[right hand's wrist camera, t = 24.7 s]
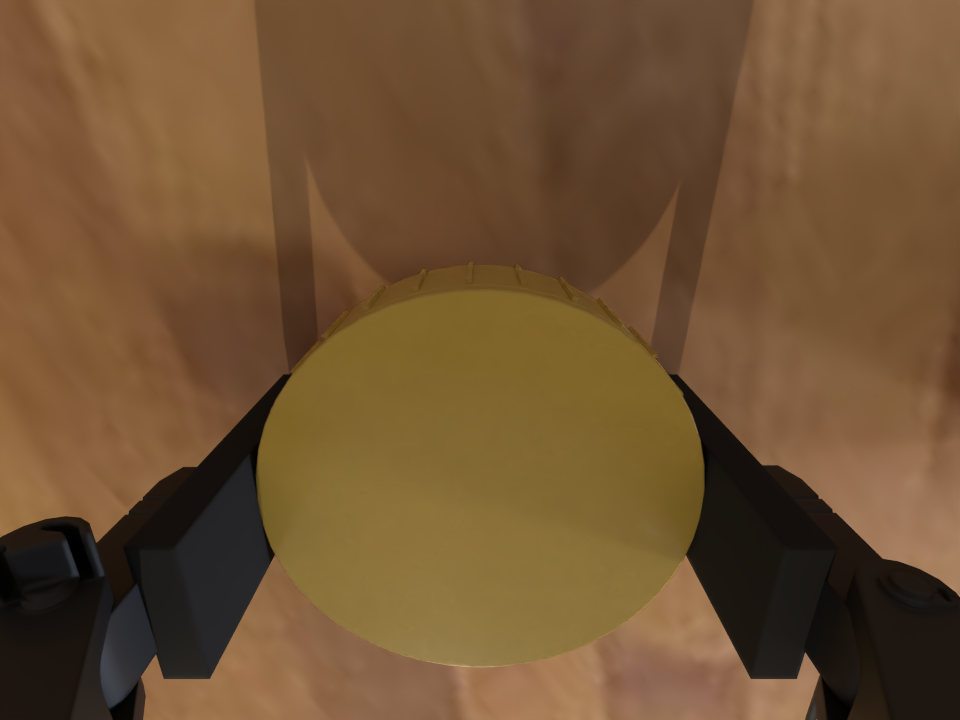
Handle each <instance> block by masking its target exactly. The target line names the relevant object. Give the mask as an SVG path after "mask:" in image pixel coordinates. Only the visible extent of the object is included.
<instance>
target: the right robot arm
mask: <svg viewBox="0 0 960 720" xmlns="http://www.w3.org/2000/svg"><path fill="white" fill-rule="evenodd" d="M291 375H292V374H284V375H283V376H282V377H281V378H280V379H279V380H278V381H277V382H276V383H275V384H274V385H273V386H272V387H271V389H270V390H269V391H268V392H267V393H266V394H265V395H264V396H263V397H262V398H261V399H260V400H259V401H258V402H257V404H256V405H255V406H254V407H253V408H252V409H251V410H250V411H249V412H248V413H247V414H246V415H245V416H244V417H243V419H242V420H241V421H240V422H239V423H238V424H237V425H236V426H235V427H234V428H233V429H232V430H231V431H230V432H229V434H228V435H227V436H226V437H225V438H224V439H223V440H222V441H221V442H220V443H219V444H218V445H217V446H216V447H215V449H214V450H213V451H212V452H211V453H210V454H209V455H208V456H207V457H206V458H205V459H204V460H203V461H202V462H201V464H200V465H199V466H198V467H183V468H181V469H179V470H178V471H176V472H174V473H172V474H171V475H169V476H167V477H166V478H164V479H162V480H161V481H159V482H158V483H157V484H156V485H155V486H154V487H153V488H152V489H151V490H150V491H149V492H148V493H147V494H146V495H145V496H144V497H143V500H142V501H139V502H138V503H137V504H136V505H135V506H134V507H133V508H132V509H131V510H130V511H129V514H128V515H125V516H124V517H123V518H122V519H121V520H120V521H119V522H118V523H117V524H116V525H115V526H114V527H113V528H112V529H111V530H110V531H109V532H108V533H106V534H105V535H104V536H103V537H102V538H101V539H100V540H99V541H98V542H97V543H96V542H95V539H94V536H93V533H92V530H91V527H90V524H89V523H88V522H87V521H85V520H83V519H82V518H78V517H67V516H65V517H58V518H51V519H45V520H42V521H39V522H36V523H32V524H29V525H26V526H23V527H21V528H19V529H17V530H15V531H13V532H10V533H8V534H6V535H4V536H2V537H1V538H0V720H143V715H144V706H145V697H146V696H145V691H144V685H143V682H142V679H141V676H142V674H143V673H144V671H145V670H146V668H147V667H148V665H149V664H150V662H151V661H152V659H153V657H154V656H155V654H156V655H157V658H158V661H159V665H160V668H161V671H162V674H163V677H164V679H210V677H211V675H212V673H213V672H214V670H215V668H216V666H217V664H218V662H219V660H220V658H221V656H222V654H223V652H224V651H225V649H226V647H227V645H228V643H229V641H230V639H231V637H232V635H233V633H234V632H235V630H236V628H237V626H238V624H239V622H240V620H241V618H242V616H243V614H244V613H245V611H246V609H247V607H248V605H249V603H250V601H251V599H252V597H253V595H254V593H255V592H256V590H257V588H258V586H259V584H260V582H261V580H262V578H263V576H264V574H265V573H266V571H267V569H268V567H269V565H270V563H271V561H272V559H273V557H274V555H275V553H274V552H273V550H272V548H271V546H270V543H269V540H268V538H267V535H266V533H265V530H264V527H263V525H262V520H261V515H260V510H259V505H258V499H257V489H256V466H257V456H258V448H259V444H260V440H261V437H262V433H263V429H264V425H265V423H266V420H267V418H268V416H269V413H270V410H271V408H272V407H273V404H274V402H275V400H276V398H277V397H278V395H279V394H280V392H281V390H282V389H283V387H284V386H285V384H286V383H287V381H288V380H289V378H290V377H291ZM668 375H669V376H670V378H671V379H672V380H673V382H674V383H675V384H676V385H677V386H678V387H679V388H680V389H681V391H682V392H683V394H684V395H683V398H684V399H685V401H686V403H687V405H688V407H689V409H690V411H691V413H692V415H693V418H694V421H695V424H696V427H697V430H698V433H699V436H700V440H701V445H702V452H703V458H704V464H705V492H704V498H703V503H702V509H701V514H700V519H699V522H698V526H697V529H696V532H695V535H694V538H693V540H692V542H691V544H690V547H689V549H688V551H687V553H686V556H687V558H688V560H689V562H690V564H691V566H692V567H693V569H694V571H695V573H696V575H697V577H698V579H699V581H700V583H701V585H702V586H703V588H704V590H705V592H706V594H707V596H708V598H709V600H710V602H711V604H712V606H713V607H714V609H715V611H716V613H717V615H718V617H719V619H720V621H721V623H722V625H723V626H724V628H725V630H726V632H727V634H728V636H729V638H730V640H731V642H732V644H733V646H734V647H735V649H736V651H737V653H738V655H739V657H740V659H741V661H742V663H743V665H744V666H745V668H746V670H747V672H748V674H749V676H750V678H751V679H797V676H798V673H799V670H800V667H801V664H802V660H803V657H804V654H805V652H806V654H807V655H808V657H809V658H810V660H811V661H812V663H813V664H814V666H815V667H816V669H817V670H818V672H819V673H820V676H819V679H818V682H817V685H816V688H815V691H814V694H813V697H812V700H811V703H810V706H809V709H808V712H807V715H806V718H805V720H816V719H817V720H960V597H959V596H958V594H957V593H956V592H954V591H953V590H952V589H951V588H949V587H948V586H947V585H945V584H944V583H943V582H942V581H940V580H939V579H937V578H935V577H933V576H931V575H930V574H928V573H926V572H924V571H922V570H920V569H918V568H915V567H912V566H909V565H907V564H904V563H901V562H898V561H892V560H886V559H882V558H881V557H880V556H879V555H878V554H877V553H876V552H875V551H874V550H873V549H872V548H871V547H870V546H869V545H868V544H867V543H866V542H865V541H864V540H863V539H862V538H861V537H860V536H859V535H858V534H857V533H856V532H855V531H854V530H853V529H852V528H851V527H850V526H849V525H848V524H847V523H846V522H845V521H844V520H843V519H842V518H841V517H840V516H838V515H837V514H836V513H833V512H832V509H831V508H830V507H829V506H828V505H827V504H826V503H825V502H824V501H823V500H822V499H819V498H818V495H817V494H816V493H815V492H814V491H813V490H812V489H811V488H810V487H809V486H808V485H807V484H806V483H805V482H804V481H803V480H802V479H800V478H798V477H797V476H795V475H793V474H792V473H790V472H788V471H786V470H785V469H783V468H781V467H780V466H778V465H761V464H760V463H759V462H758V461H757V459H756V458H755V457H754V456H753V455H752V454H751V453H750V452H749V451H748V450H747V449H746V448H745V447H744V446H743V444H742V443H741V442H740V441H739V440H738V439H737V438H736V437H735V436H734V435H733V434H732V433H731V432H730V431H729V429H728V428H727V427H726V426H725V425H724V424H723V423H722V422H721V421H720V420H719V419H718V418H717V417H716V416H715V414H714V413H713V412H712V411H711V410H710V409H709V408H708V407H707V406H706V405H705V404H704V403H703V402H702V401H701V399H700V398H699V397H698V396H697V395H696V394H695V393H694V392H693V391H692V390H691V389H690V388H689V387H688V386H687V384H686V383H685V382H684V381H683V380H682V379H681V378H680V377H679V376H678V375H677V374H668Z"/></svg>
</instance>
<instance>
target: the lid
mask: <svg viewBox="0 0 960 720" xmlns="http://www.w3.org/2000/svg"><path fill="white" fill-rule="evenodd" d="M321 337H322V338H323V340H322V341H320V340H318V341H317V342H316V343H315V344H314V345H313V347H312V348H311V349H310V350H309V351H308V352H307V353H306V354H305V355H304V356H303V357H302V359H301V360H300V361H299V362H298V363H297V364H296V365H295V366H294V367H293V368H292V370H291V371H290V372H291V373H292V375H291V377H290V378H289V380H288V381H287V383H286V384H285V386H284V387H283V389H282V390H281V392H280V394H279V395H278V397H277V398H276V400H275V402H274V404H273V407H272V408H271V410H270V413H269V416H268V418H267V420H266V423H265V425H264V429H263V433H262V437H261V440H260V444H259V448H258V456H257V466H256V489H257V499H258V505H259V510H260V515H261V520H262V525H263V527H264V530H265V533H266V535H267V538H268V540H269V543H270V546H271V548H272V550H273V552H274V553H275V555H276V557H277V559H278V561H279V562H280V564H281V566H282V568H283V569H284V571H285V572H286V573H287V575H288V576H289V577H290V579H291V580H292V582H293V583H294V584H295V586H296V587H297V588H298V589H299V590H300V591H301V592H302V593H303V594H304V595H305V596H306V598H307V599H308V600H309V601H310V602H311V603H312V604H313V605H314V606H315V607H317V608H318V609H319V610H320V611H321V612H323V613H324V614H325V615H326V616H328V617H329V618H330V619H331V620H332V621H334V622H335V623H337V624H338V625H340V626H342V627H343V628H345V629H346V630H348V631H349V632H351V633H352V634H354V635H356V636H358V637H360V638H362V639H364V640H366V641H368V642H370V643H372V644H374V645H376V646H378V647H381V648H384V649H386V650H389V651H391V652H394V653H397V654H399V655H403V656H407V657H410V658H414V659H418V660H421V661H426V662H432V663H438V664H444V665H452V666H465V667H499V666H508V665H517V664H524V663H529V662H534V661H538V660H543V659H548V658H551V657H554V656H557V655H560V654H564V653H567V652H570V651H573V650H575V649H577V648H580V647H582V646H584V645H587V644H589V643H591V642H594V641H595V640H597V639H599V638H601V637H603V636H604V635H606V634H608V633H610V632H611V631H613V630H615V629H617V628H618V627H619V626H621V625H622V624H624V623H625V622H626V621H628V620H629V619H631V618H632V617H633V616H635V615H636V614H637V613H638V612H639V611H640V610H642V609H643V608H644V607H645V606H646V605H647V604H648V603H649V602H650V601H652V600H653V599H654V598H655V596H656V595H657V594H658V593H659V592H660V591H661V590H662V588H663V587H664V586H665V585H666V584H667V583H668V582H669V580H670V579H671V577H672V576H673V574H674V573H675V571H676V570H677V568H678V567H679V565H680V564H681V562H682V561H683V559H684V557H685V555H686V553H687V551H688V549H689V547H690V544H691V542H692V540H693V538H694V535H695V532H696V529H697V526H698V522H699V519H700V514H701V509H702V503H703V498H704V492H705V464H704V458H703V452H702V445H701V440H700V436H699V433H698V430H697V427H696V424H695V421H694V418H693V415H692V413H691V411H690V409H689V407H688V405H687V403H686V401H685V399H684V398H683V395H684V394H683V392H682V391H681V389H680V388H679V387H678V386H677V385H676V384H675V383H674V382H673V380H672V379H671V378H670V376H669V375H668V374H667V372H666V371H665V369H664V368H663V367H662V366H661V365H660V363H659V362H658V361H657V360H656V359H657V358H658V357H659V356H658V355H657V353H656V352H655V351H654V350H653V349H652V348H651V347H650V346H649V345H648V344H647V343H646V342H645V341H644V339H643V338H642V337H641V336H640V335H639V334H638V333H637V332H636V331H635V330H634V329H633V328H632V327H629V328H627V327H626V326H625V325H624V324H623V322H622V321H621V320H620V319H619V318H618V317H617V316H616V315H615V313H614V312H613V311H612V310H611V309H610V308H609V307H608V306H607V305H606V303H605V302H604V301H603V300H602V299H600V298H599V299H598V300H597V301H596V300H595V299H594V298H592V297H591V296H589V295H588V294H586V293H584V292H582V291H580V290H579V289H577V288H575V287H573V286H571V285H570V284H568V283H567V282H566V280H565V279H564V278H562V277H559V279H558V280H557V279H555V278H552V277H550V276H547V275H544V274H541V273H537V272H533V271H529V270H525V269H521V267H520V265H517V264H515V267H507V266H498V265H473V261H472V262H468V265H460V266H453V267H447V268H441V269H434V270H431V271H427V268H425V269H422V270H421V272H420V274H417V275H414V276H411V277H407V278H405V279H403V280H401V281H399V282H396V283H394V284H392V285H390V286H387V287H385V286H384V285H382V286H380V287H379V288H378V289H377V291H376V292H375V293H374V294H373V295H372V296H370V297H369V298H367V299H366V300H364V301H362V302H361V303H360V304H359V305H357V306H356V307H355V308H354V309H353V310H351V311H349V310H348V309H346V310H345V311H344V312H343V313H342V314H341V315H340V317H339V318H338V319H337V320H336V321H335V322H334V323H333V324H332V325H331V326H330V327H329V328H328V330H327V331H326V332H325V333H324V334H323V335H322V336H321Z"/></svg>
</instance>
